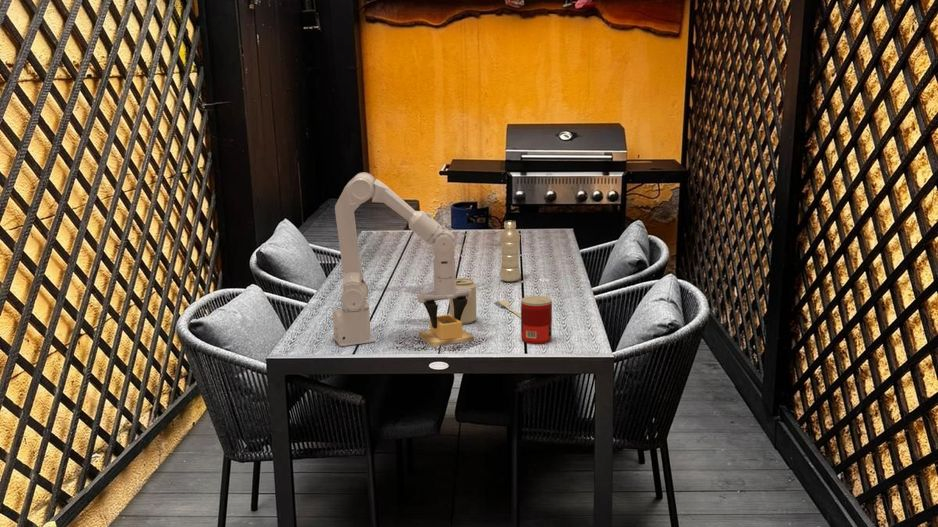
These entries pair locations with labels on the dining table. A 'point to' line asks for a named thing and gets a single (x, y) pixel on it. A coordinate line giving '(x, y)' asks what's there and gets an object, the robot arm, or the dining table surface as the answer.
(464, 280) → the can
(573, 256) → the dining table surface
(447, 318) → the link
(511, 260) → the plastic bottle
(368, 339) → the robot arm
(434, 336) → the wooden block with peg
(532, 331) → the canned food
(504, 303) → the fork
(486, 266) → the dining table surface
